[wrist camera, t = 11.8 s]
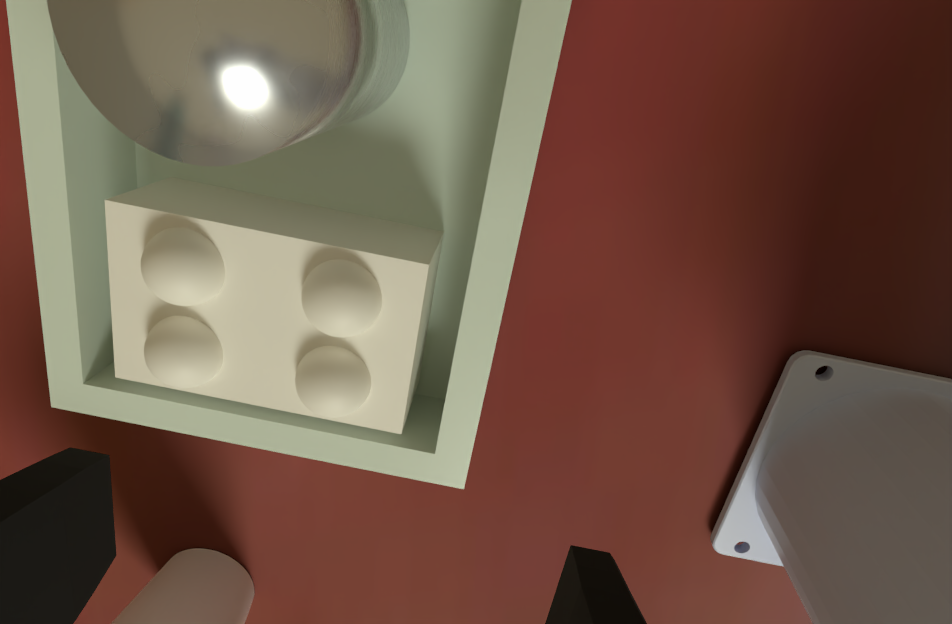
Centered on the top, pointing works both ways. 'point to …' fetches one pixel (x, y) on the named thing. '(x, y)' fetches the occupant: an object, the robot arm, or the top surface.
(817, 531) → the robot arm
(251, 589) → the smoothie
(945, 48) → the top surface
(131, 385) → the tote
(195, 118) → the tin can
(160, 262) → the egg carton
